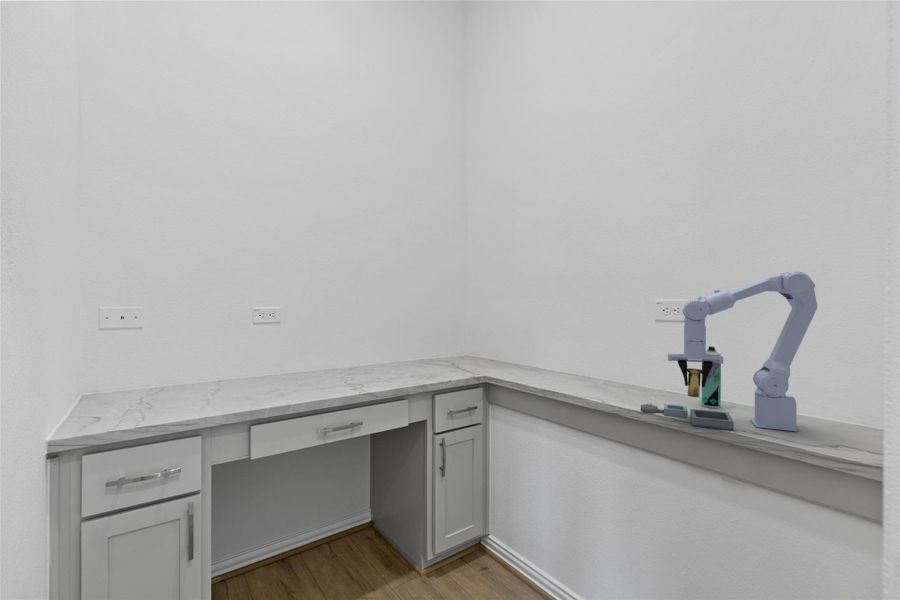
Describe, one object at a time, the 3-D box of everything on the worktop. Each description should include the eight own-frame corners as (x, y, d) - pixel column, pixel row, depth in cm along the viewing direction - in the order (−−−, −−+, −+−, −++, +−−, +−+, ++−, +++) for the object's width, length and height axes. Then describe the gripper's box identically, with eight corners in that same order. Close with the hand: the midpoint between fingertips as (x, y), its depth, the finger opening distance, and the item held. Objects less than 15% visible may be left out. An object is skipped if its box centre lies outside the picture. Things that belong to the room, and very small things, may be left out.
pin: (700, 395, 135) (701, 369, 135) (701, 398, 132) (703, 371, 131) (685, 393, 137) (686, 367, 137) (686, 396, 133) (687, 370, 133)
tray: (728, 420, 132) (728, 412, 132) (733, 430, 123) (733, 421, 123) (690, 416, 136) (690, 408, 136) (692, 426, 127) (692, 417, 127)
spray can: (703, 403, 152) (703, 345, 152) (721, 406, 149) (722, 346, 148) (700, 406, 148) (700, 346, 147) (719, 409, 144) (719, 348, 144)
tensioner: (686, 412, 141) (686, 404, 141) (687, 417, 136) (687, 409, 136) (641, 407, 147) (641, 400, 147) (640, 412, 141) (640, 404, 141)
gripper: (721, 340, 134) (721, 385, 135) (667, 338, 141) (667, 381, 141) (724, 342, 128) (724, 390, 128) (667, 340, 134) (668, 385, 134)
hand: (694, 385), depth 134 cm, fingers closed on pin, 4 cm apart
